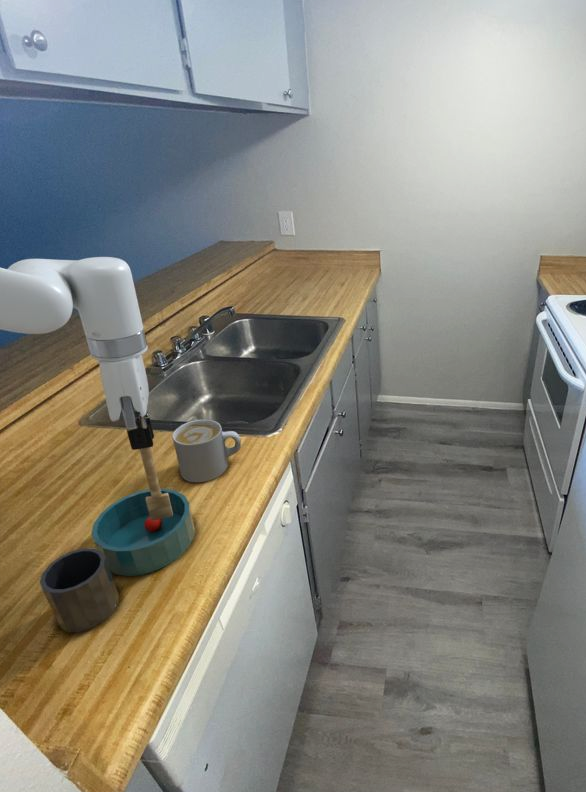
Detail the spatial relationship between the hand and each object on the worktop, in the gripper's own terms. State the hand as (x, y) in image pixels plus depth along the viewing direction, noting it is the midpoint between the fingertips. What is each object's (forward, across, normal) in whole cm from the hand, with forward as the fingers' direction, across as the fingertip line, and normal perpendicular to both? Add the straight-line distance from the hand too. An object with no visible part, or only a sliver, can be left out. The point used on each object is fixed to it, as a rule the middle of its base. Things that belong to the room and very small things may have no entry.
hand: (143, 443), depth 79 cm
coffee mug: (+22, -19, +9) cm, 30 cm away
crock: (+22, +12, -11) cm, 27 cm away
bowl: (+22, 0, -3) cm, 22 cm away
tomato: (+20, -2, -2) cm, 20 cm away
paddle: (+17, 0, 0) cm, 17 cm away
